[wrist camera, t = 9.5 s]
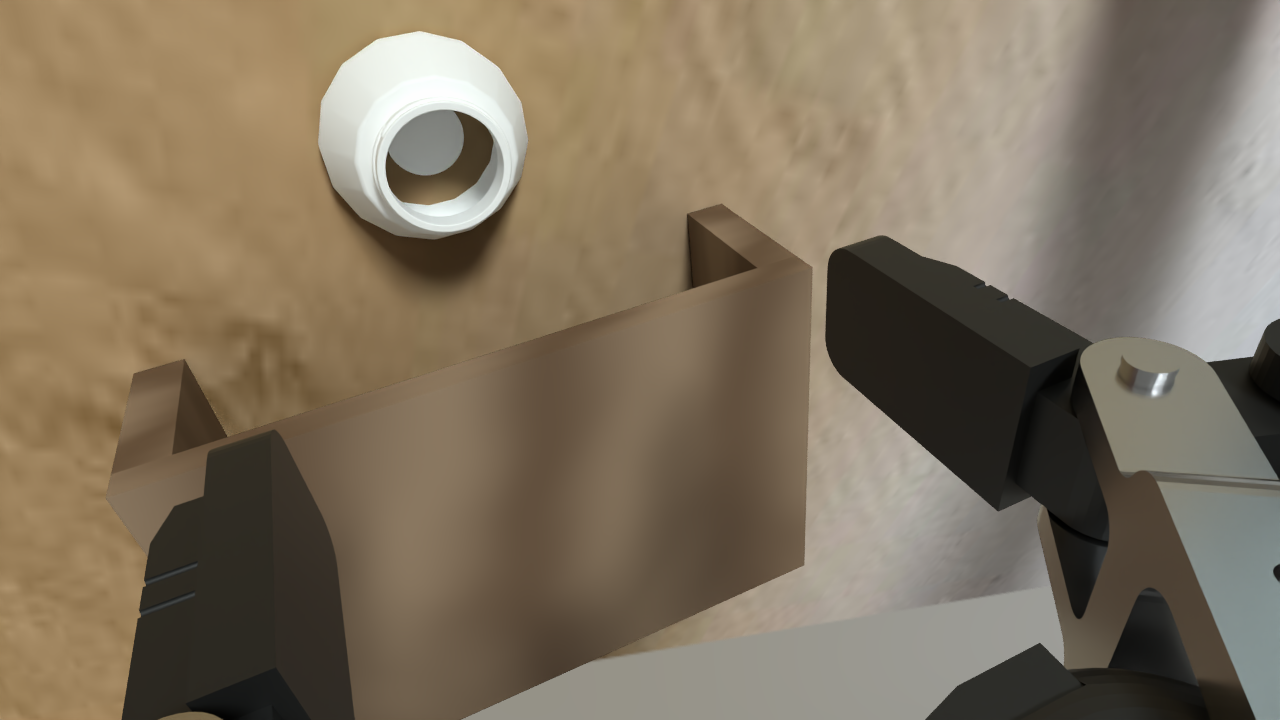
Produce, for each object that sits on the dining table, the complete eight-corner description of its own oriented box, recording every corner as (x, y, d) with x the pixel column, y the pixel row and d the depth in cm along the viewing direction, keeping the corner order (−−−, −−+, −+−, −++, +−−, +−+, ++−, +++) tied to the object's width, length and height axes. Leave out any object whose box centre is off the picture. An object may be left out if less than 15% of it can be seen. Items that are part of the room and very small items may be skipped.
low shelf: (721, 204, 24) (812, 267, 20) (734, 478, 31) (804, 565, 27) (133, 373, 19) (105, 498, 16) (303, 652, 26) (312, 785, 22)
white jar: (553, 105, 21) (382, -16, 18) (591, 135, 18) (403, 1, 15) (456, 257, 22) (279, 167, 19) (481, 303, 19) (284, 209, 16)
